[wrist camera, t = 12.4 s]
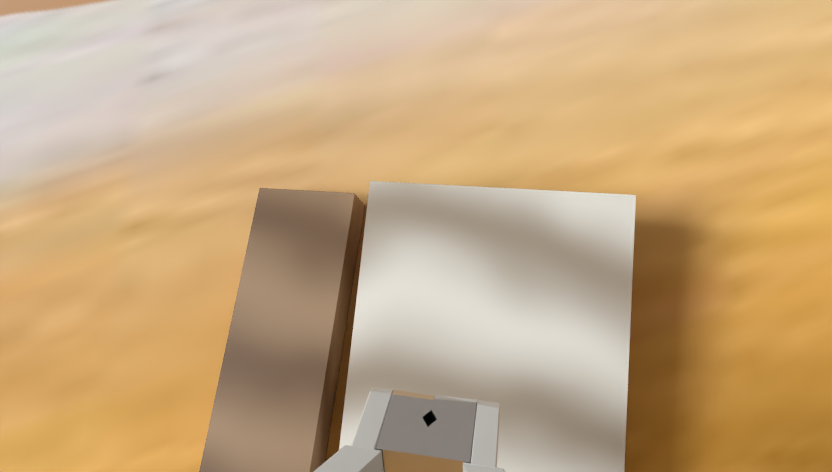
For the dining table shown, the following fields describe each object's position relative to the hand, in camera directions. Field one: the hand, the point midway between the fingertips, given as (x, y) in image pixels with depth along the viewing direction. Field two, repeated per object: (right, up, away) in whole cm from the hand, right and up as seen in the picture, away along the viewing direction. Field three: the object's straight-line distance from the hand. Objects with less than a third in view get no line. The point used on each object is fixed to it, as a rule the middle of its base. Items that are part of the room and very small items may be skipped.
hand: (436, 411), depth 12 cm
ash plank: (+3, -4, +12) cm, 12 cm away
